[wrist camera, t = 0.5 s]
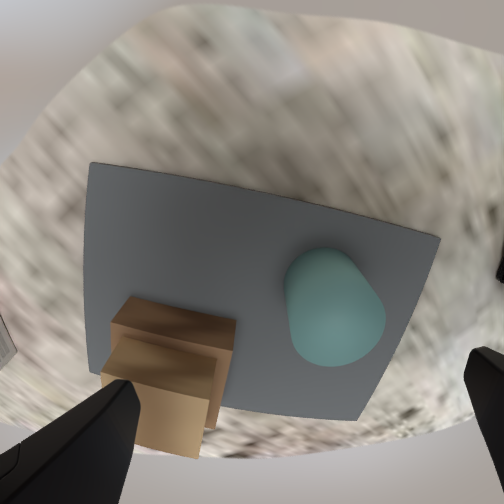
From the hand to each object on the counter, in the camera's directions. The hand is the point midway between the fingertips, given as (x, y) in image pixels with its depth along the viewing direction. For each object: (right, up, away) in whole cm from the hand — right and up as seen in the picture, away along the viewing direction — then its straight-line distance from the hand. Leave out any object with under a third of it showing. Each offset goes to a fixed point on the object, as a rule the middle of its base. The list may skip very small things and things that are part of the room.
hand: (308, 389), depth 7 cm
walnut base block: (-7, -3, +14) cm, 16 cm away
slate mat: (-2, -1, +13) cm, 13 cm away
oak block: (-7, -5, +11) cm, 13 cm away
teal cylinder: (+3, +1, +12) cm, 12 cm away
